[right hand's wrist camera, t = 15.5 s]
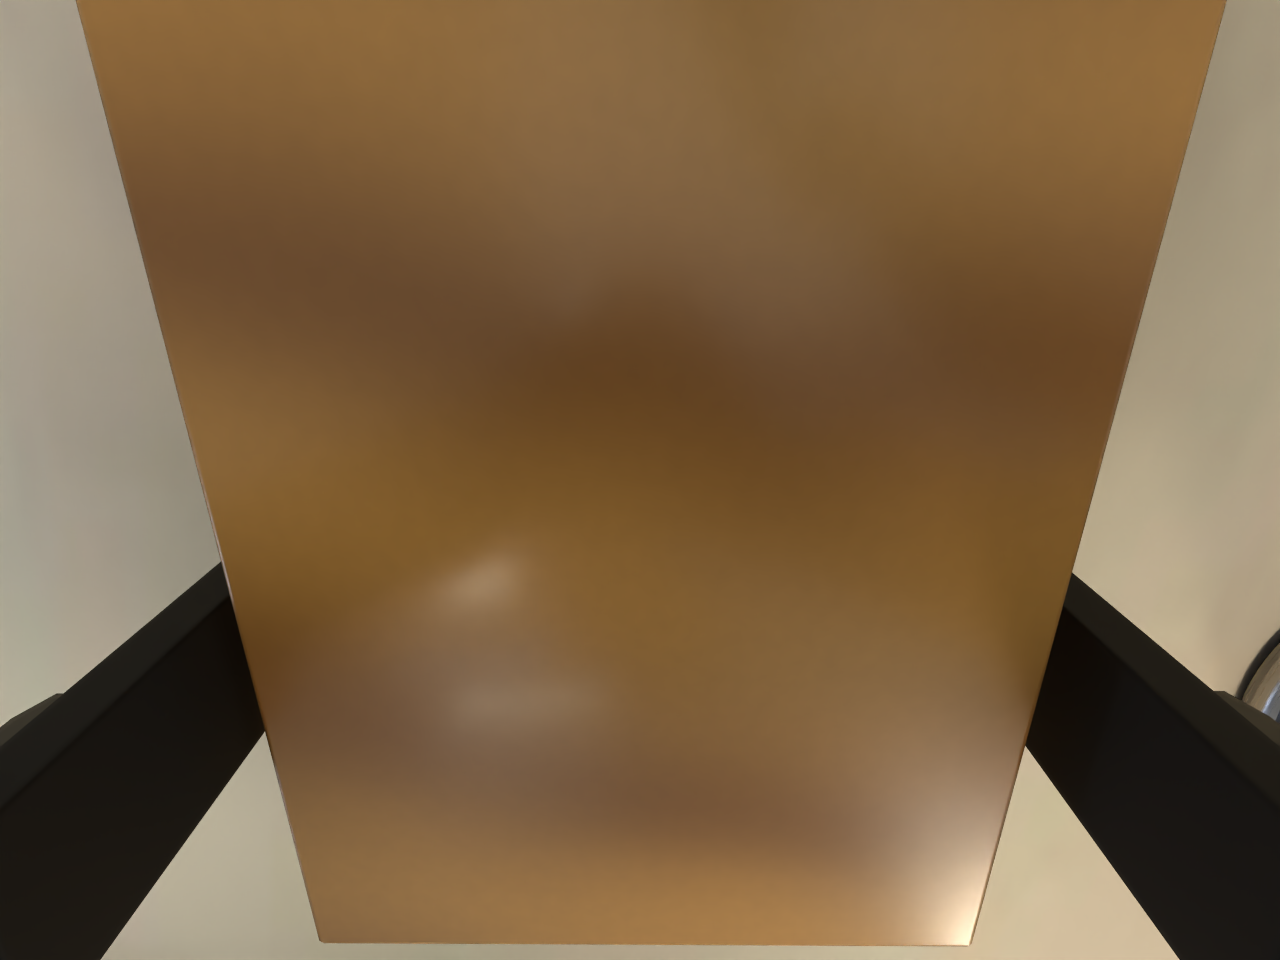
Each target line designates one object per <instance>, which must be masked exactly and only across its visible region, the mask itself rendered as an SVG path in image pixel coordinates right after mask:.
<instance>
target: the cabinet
mask: <svg viewBox="0 0 1280 960" xmlns="http://www.w3.org/2000/svg"><path fill="white" fill-rule="evenodd" d="M1226 1H1227V0H76V3H77V7H78V11H79V15H80V19H81V23H82V26H83V30H84V34H85V38H86V42H87V46H88V50H89V53H90V57H91V61H92V65H93V69H94V73H95V77H96V80H97V84H98V88H99V92H100V96H101V100H102V104H103V107H104V111H105V115H106V119H107V123H108V127H109V131H110V134H111V138H112V142H113V146H114V150H115V154H116V158H117V161H118V165H119V169H120V173H121V177H122V181H123V185H124V188H125V192H126V196H127V200H128V204H129V208H130V212H131V215H132V219H133V223H134V227H135V231H136V235H137V239H138V242H139V246H140V250H141V254H142V258H143V262H144V266H145V269H146V273H147V277H148V281H149V285H150V289H151V293H152V296H153V300H154V304H155V308H156V312H157V316H158V320H159V323H160V327H161V331H162V335H163V339H164V343H165V347H166V350H167V354H168V358H169V362H170V366H171V370H172V374H173V377H174V381H175V385H176V389H177V393H178V397H179V401H180V404H181V408H182V412H183V416H184V420H185V424H186V428H187V431H188V435H189V439H190V443H191V447H192V451H193V455H194V458H195V462H196V466H197V470H198V474H199V478H200V482H201V485H202V489H203V493H204V497H205V501H206V505H207V509H208V512H209V516H210V520H211V524H212V528H213V532H214V536H215V539H216V543H217V547H218V551H219V555H220V559H221V563H222V567H223V570H224V574H225V578H226V582H227V586H228V590H229V594H230V597H231V601H232V605H233V609H234V613H235V617H236V621H237V624H238V628H239V632H240V636H241V640H242V644H243V648H244V651H245V655H246V659H247V663H248V667H249V671H250V675H251V678H252V682H253V686H254V690H255V694H256V698H257V702H258V705H259V709H260V713H261V717H262V721H263V725H264V729H265V732H266V736H267V740H268V744H269V748H270V752H271V756H272V759H273V763H274V767H275V771H276V775H277V779H278V783H279V786H280V790H281V794H282V798H283V802H284V806H285V810H286V813H287V817H288V821H289V825H290V829H291V833H292V837H293V840H294V844H295V848H296V852H297V856H298V860H299V864H300V867H301V871H302V875H303V879H304V883H305V887H306V891H307V894H308V898H309V902H310V906H311V910H312V914H313V918H314V921H315V925H316V929H317V933H318V937H319V940H320V941H321V942H323V943H413V944H611V945H810V946H968V945H970V944H971V943H972V940H973V936H974V933H975V929H976V925H977V921H978V918H979V914H980V910H981V907H982V903H983V899H984V896H985V892H986V888H987V884H988V881H989V877H990V873H991V870H992V866H993V862H994V859H995V855H996V851H997V847H998V844H999V840H1000V836H1001V833H1002V829H1003V825H1004V822H1005V818H1006V814H1007V811H1008V807H1009V803H1010V799H1011V796H1012V792H1013V788H1014V785H1015V781H1016V777H1017V774H1018V770H1019V766H1020V762H1021V759H1022V755H1023V751H1024V748H1025V744H1026V740H1027V737H1028V733H1029V729H1030V725H1031V722H1032V718H1033V714H1034V711H1035V707H1036V703H1037V700H1038V696H1039V692H1040V688H1041V685H1042V681H1043V677H1044V674H1045V670H1046V666H1047V663H1048V659H1049V655H1050V652H1051V648H1052V644H1053V640H1054V637H1055V633H1056V629H1057V626H1058V622H1059V618H1060V615H1061V611H1062V607H1063V603H1064V600H1065V596H1066V592H1067V589H1068V585H1069V581H1070V578H1071V574H1072V570H1073V566H1074V563H1075V559H1076V555H1077V552H1078V548H1079V544H1080V541H1081V537H1082V533H1083V529H1084V526H1085V522H1086V518H1087V515H1088V511H1089V507H1090V504H1091V500H1092V496H1093V493H1094V489H1095V485H1096V481H1097V478H1098V474H1099V470H1100V467H1101V463H1102V459H1103V456H1104V452H1105V448H1106V444H1107V441H1108V437H1109V433H1110V430H1111V426H1112V422H1113V419H1114V415H1115V411H1116V407H1117V404H1118V400H1119V396H1120V393H1121V389H1122V385H1123V382H1124V378H1125V374H1126V371H1127V367H1128V363H1129V359H1130V356H1131V352H1132V348H1133V345H1134V341H1135V337H1136V334H1137V330H1138V326H1139V322H1140V319H1141V315H1142V311H1143V308H1144V304H1145V300H1146V297H1147V293H1148V289H1149V285H1150V282H1151V278H1152V274H1153V271H1154V267H1155V263H1156V260H1157V256H1158V252H1159V248H1160V245H1161V241H1162V237H1163V234H1164V230H1165V226H1166V223H1167V219H1168V215H1169V212H1170V208H1171V204H1172V200H1173V197H1174V193H1175V189H1176V186H1177V182H1178V178H1179V175H1180V171H1181V167H1182V163H1183V160H1184V156H1185V152H1186V149H1187V145H1188V141H1189V138H1190V134H1191V130H1192V126H1193V123H1194V119H1195V115H1196V112H1197V108H1198V104H1199V101H1200V97H1201V93H1202V89H1203V86H1204V82H1205V78H1206V75H1207V71H1208V67H1209V64H1210V60H1211V56H1212V53H1213V49H1214V45H1215V41H1216V38H1217V34H1218V30H1219V27H1220V23H1221V19H1222V16H1223V12H1224V8H1225V4H1226Z"/></svg>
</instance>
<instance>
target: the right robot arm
mask: <svg viewBox="0 0 1280 960" xmlns="http://www.w3.org/2000/svg"><path fill="white" fill-rule="evenodd" d="M264 732H265V729H264V725H263V721H262V717H261V713H260V709H259V705H258V702H257V698H256V694H255V690H254V686H253V682H252V678H251V675H250V671H249V667H248V663H247V659H246V655H245V651H244V648H243V644H242V640H241V636H240V632H239V628H238V624H237V621H236V617H235V613H234V609H233V605H232V601H231V597H230V594H229V590H228V586H227V582H226V578H225V574H224V570H223V567H222V563H221V562H220V563H219V564H218V565H216V566H215V567H214V568H213V569H212V570H210V571H209V572H208V573H207V574H206V575H204V576H203V577H202V578H201V579H200V580H198V581H197V582H196V583H195V584H194V585H193V586H191V587H190V588H189V589H188V590H187V591H185V592H184V593H183V594H182V595H181V596H179V597H178V598H177V599H176V600H175V601H173V602H172V603H171V604H170V605H169V606H167V607H166V608H165V609H164V610H163V611H162V612H160V613H159V614H158V615H157V616H156V617H154V618H153V619H152V620H151V621H150V622H148V623H147V624H146V625H145V626H144V627H142V628H141V629H140V630H139V631H138V632H136V633H135V634H134V635H133V636H132V637H131V638H129V639H128V640H127V641H126V642H125V643H123V644H122V645H121V646H120V647H119V648H117V649H116V650H115V651H114V652H113V653H111V654H110V655H109V656H108V657H107V658H105V659H104V660H103V661H102V662H101V663H99V664H98V665H97V666H96V667H95V668H94V669H92V670H91V671H90V672H89V673H88V674H86V675H85V676H84V677H83V678H82V679H80V680H79V681H78V682H77V683H76V684H74V685H73V686H72V687H71V688H70V689H68V690H67V691H66V692H65V693H64V694H55V695H53V696H51V697H50V698H48V699H46V700H44V701H42V702H40V703H39V704H37V705H35V706H33V707H31V708H30V709H28V710H26V711H24V712H22V713H21V714H19V715H17V716H15V717H13V718H12V719H10V720H9V721H8V722H7V723H5V724H4V725H3V726H2V727H0V960H100V959H101V958H102V957H103V955H104V954H105V952H106V951H107V950H108V948H109V947H110V946H111V944H112V943H113V941H114V940H115V939H116V937H117V936H118V934H119V933H120V932H121V930H122V929H123V927H124V926H125V925H126V923H127V922H128V921H129V919H130V918H131V916H132V915H133V914H134V912H135V911H136V909H137V908H138V907H139V905H140V904H141V902H142V901H143V900H144V898H145V897H146V896H147V894H148V893H149V891H150V890H151V889H152V887H153V886H154V884H155V883H156V882H157V880H158V879H159V877H160V876H161V875H162V873H163V872H164V871H165V869H166V868H167V866H168V865H169V864H170V862H171V861H172V859H173V858H174V857H175V855H176V854H177V852H178V851H179V850H180V848H181V847H182V846H183V844H184V843H185V841H186V840H187V839H188V837H189V836H190V834H191V833H192V832H193V830H194V829H195V828H196V826H197V825H198V823H199V822H200V821H201V819H202V818H203V816H204V815H205V814H206V812H207V811H208V809H209V808H210V807H211V805H212V804H213V803H214V801H215V800H216V798H217V797H218V796H219V794H220V793H221V791H222V790H223V789H224V787H225V786H226V784H227V783H228V782H229V780H230V779H231V778H232V776H233V775H234V773H235V772H236V771H237V769H238V768H239V766H240V765H241V764H242V762H243V761H244V759H245V758H246V757H247V755H248V754H249V753H250V751H251V750H252V748H253V747H254V746H255V744H256V743H257V741H258V740H259V739H260V737H261V736H262V734H263V733H264ZM1025 746H1026V747H1027V748H1028V750H1029V751H1030V753H1031V754H1032V755H1033V757H1034V758H1035V759H1036V761H1037V762H1038V764H1039V765H1040V766H1041V768H1042V769H1043V771H1044V772H1045V773H1046V775H1047V776H1048V778H1049V779H1050V780H1051V782H1052V783H1053V784H1054V786H1055V787H1056V789H1057V790H1058V791H1059V793H1060V794H1061V796H1062V797H1063V798H1064V800H1065V801H1066V803H1067V804H1068V805H1069V807H1070V808H1071V809H1072V811H1073V812H1074V814H1075V815H1076V816H1077V818H1078V819H1079V821H1080V822H1081V823H1082V825H1083V826H1084V828H1085V829H1086V830H1087V832H1088V833H1089V834H1090V836H1091V837H1092V839H1093V840H1094V841H1095V843H1096V844H1097V846H1098V847H1099V848H1100V850H1101V851H1102V852H1103V854H1104V855H1105V857H1106V858H1107V859H1108V861H1109V862H1110V864H1111V865H1112V866H1113V868H1114V869H1115V871H1116V872H1117V873H1118V875H1119V876H1120V877H1121V879H1122V880H1123V882H1124V883H1125V884H1126V886H1127V887H1128V889H1129V890H1130V891H1131V893H1132V894H1133V896H1134V897H1135V898H1136V900H1137V901H1138V902H1139V904H1140V905H1141V907H1142V908H1143V909H1144V911H1145V912H1146V914H1147V915H1148V916H1149V918H1150V919H1151V921H1152V922H1153V923H1154V925H1155V926H1156V927H1157V929H1158V930H1159V932H1160V933H1161V934H1162V936H1163V937H1164V939H1165V940H1166V941H1167V943H1168V944H1169V946H1170V947H1171V948H1172V950H1173V951H1174V952H1175V954H1176V955H1177V957H1178V958H1179V959H1180V960H1280V724H1279V723H1278V722H1276V721H1275V720H1274V719H1273V718H1271V717H1270V716H1268V715H1267V714H1265V713H1263V712H1261V711H1259V710H1258V709H1256V708H1254V707H1252V706H1250V705H1248V704H1247V703H1245V702H1243V701H1241V700H1239V699H1237V698H1236V697H1234V696H1232V695H1230V694H1228V693H1227V692H1225V691H1213V690H1212V689H1210V688H1209V687H1208V686H1207V685H1206V684H1204V683H1203V682H1202V681H1201V680H1200V679H1198V678H1197V677H1196V676H1195V675H1194V674H1192V673H1191V672H1190V671H1189V670H1188V669H1186V668H1185V667H1184V666H1183V665H1182V664H1181V663H1179V662H1178V661H1177V660H1176V659H1175V658H1173V657H1172V656H1171V655H1170V654H1169V653H1167V652H1166V651H1165V650H1164V649H1163V648H1161V647H1160V646H1159V645H1158V644H1157V643H1155V642H1154V641H1153V640H1152V639H1151V638H1149V637H1148V636H1147V635H1146V634H1145V633H1144V632H1142V631H1141V630H1140V629H1139V628H1138V627H1136V626H1135V625H1134V624H1133V623H1132V622H1130V621H1129V620H1128V619H1127V618H1126V617H1124V616H1123V615H1122V614H1121V613H1120V612H1118V611H1117V610H1116V609H1115V608H1114V607H1113V606H1111V605H1110V604H1109V603H1108V602H1107V601H1105V600H1104V599H1103V598H1102V597H1101V596H1099V595H1098V594H1097V593H1096V592H1095V591H1093V590H1092V589H1091V588H1090V587H1089V586H1087V585H1086V584H1085V583H1084V582H1083V581H1082V580H1080V579H1079V578H1078V577H1077V576H1076V575H1074V574H1073V573H1072V574H1071V578H1070V581H1069V585H1068V589H1067V592H1066V596H1065V600H1064V603H1063V607H1062V611H1061V615H1060V618H1059V622H1058V626H1057V629H1056V633H1055V637H1054V640H1053V644H1052V648H1051V652H1050V655H1049V659H1048V663H1047V666H1046V670H1045V674H1044V677H1043V681H1042V685H1041V688H1040V692H1039V696H1038V700H1037V703H1036V707H1035V711H1034V714H1033V718H1032V722H1031V725H1030V729H1029V733H1028V737H1027V740H1026V744H1025Z"/></svg>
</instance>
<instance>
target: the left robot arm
mask: <svg viewBox="0 0 1280 960" xmlns="http://www.w3.org/2000/svg"><path fill="white" fill-rule="evenodd" d="M1242 701H1243V702H1245V703H1247V704H1248V705H1250V706H1252V707H1254V708H1256V709H1258V710H1259V711H1261V712H1263V713H1265V714H1267V715H1268V716H1270V717H1271V718H1273V719H1274V720H1275V721H1276V722H1278V723H1279V724H1280V643H1279V644H1278V645H1277V646H1276V647H1275V649H1274V650H1273V651H1272V652H1271V653H1270V654H1269V655H1268V657H1267V658H1266V659H1265V661H1264V662H1263V663H1262V665H1261V666H1260V667H1259V669H1258V670H1257V672H1256V674H1255V675H1254V677H1253V678H1252V680H1251V682H1250V684H1249V686H1248V688H1247V690H1246V692H1245V694H1244V696H1243V699H1242Z"/></svg>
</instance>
